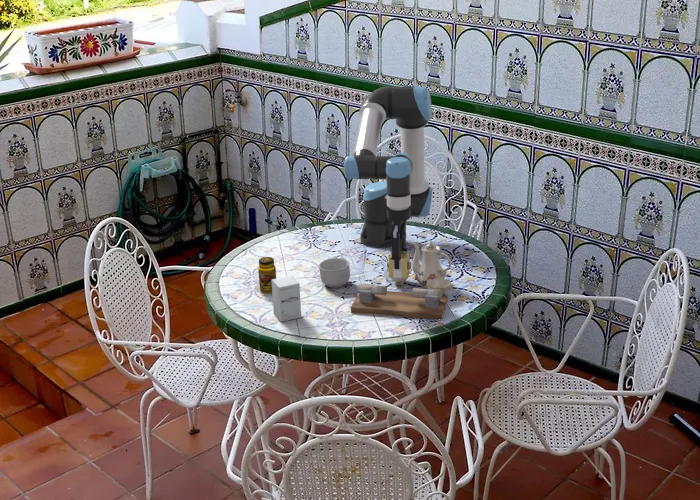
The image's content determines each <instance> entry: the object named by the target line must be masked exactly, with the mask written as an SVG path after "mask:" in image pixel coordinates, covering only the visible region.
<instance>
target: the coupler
mask: <svg viewBox="0 0 700 500" xmlns="http://www.w3.org/2000/svg"><path fill="white" fill-rule="evenodd" d="M391 257H392V251H390V254H389V256H388V260H387V263H386V267H387V268H386V269H388V268H389V272H388V278H391V277H393V260H392V259H390V258H391ZM401 259H402V278H407V277H408V275H409V276H410V274H409V273H411V272H410V269H412V262H411V261H410V260H411V259H410V252H408V251H404V252H401ZM408 278H409V277H408Z"/></svg>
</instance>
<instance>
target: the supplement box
mask: <svg viewBox="0 0 700 500" xmlns="http://www.w3.org/2000/svg"><path fill="white" fill-rule="evenodd" d="M271 281H272V294H271V295H272V307H273V314H274V315H275V316H276V318H277V319H278V320H279V322H280V323H282V322H286V321H290V320H294V319H300V318H302V307H301V289H300V288H301V287H300V282H299V281H298V280H297V279H296V278H295V277H294V276H293V275H288V276H283V277H278V278H277V277H276V279H272V280H271Z"/></svg>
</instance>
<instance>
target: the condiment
mask: <svg viewBox="0 0 700 500" xmlns="http://www.w3.org/2000/svg"><path fill="white" fill-rule="evenodd" d="M257 270H258V271H257V273H258V281H259V282H258V283H259V285H256V286H254V288H255V289H256V290H257V292H258V293H259V295H261V296H262V297H264V296H268V295H269V296H270V295H272V281H271V280H272V279H277V268H276V265H275V259H274V258H273V257H270V256H264V257H261V258H259V259H258V268H257Z"/></svg>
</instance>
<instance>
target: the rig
mask: <svg viewBox="0 0 700 500" xmlns="http://www.w3.org/2000/svg"><path fill="white" fill-rule="evenodd" d="M356 291H357V295H356V297H355V299H354V301H352V304H351V306H350V313H354V314H355V313H356V314H365V315H366V314H367V315H374V316H375V315H377V316H378V315H379V316H390V317H398V318H399V317H402V318H411V319H412V318H413V319H424V320H434V319H438V320H437V321H442V320H441V319H443V317H442V316H444V314H443V313H445V310H446V306H447V304H448V300H449V299H448V298H449V296H448V295H447V296H446V295H442V290H440V289H429V288H417V287H415V288H413V287H412V292H407V291H406V292H403V291H390V290H388V286H387V285H376V284H374V283H363V284H361V283H358V284H357V289H356ZM439 319H440V320H439Z"/></svg>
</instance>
